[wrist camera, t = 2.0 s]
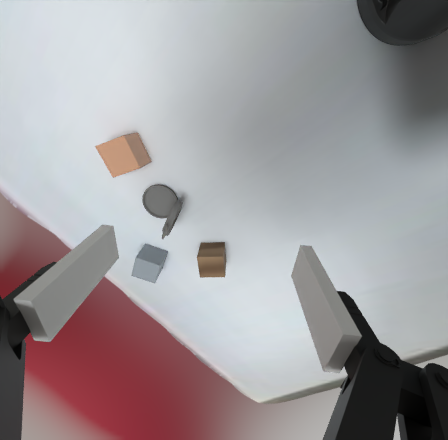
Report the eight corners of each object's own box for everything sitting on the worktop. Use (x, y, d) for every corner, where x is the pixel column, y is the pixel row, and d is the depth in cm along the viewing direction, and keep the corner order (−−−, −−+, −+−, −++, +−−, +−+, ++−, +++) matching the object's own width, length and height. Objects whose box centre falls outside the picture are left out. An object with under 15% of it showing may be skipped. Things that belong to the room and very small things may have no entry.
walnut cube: (201, 242, 45) (197, 257, 40) (224, 242, 44) (223, 256, 40) (203, 261, 47) (200, 277, 42) (226, 261, 46) (224, 277, 42)
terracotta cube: (112, 142, 36) (95, 146, 32) (138, 132, 35) (123, 135, 31) (127, 170, 38) (112, 177, 34) (151, 161, 37) (140, 168, 33)
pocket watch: (139, 186, 40) (111, 207, 31) (183, 180, 39) (167, 201, 30) (152, 224, 43) (130, 253, 34) (192, 220, 42) (180, 249, 33)
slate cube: (145, 243, 45) (135, 257, 41) (168, 251, 46) (160, 265, 42) (141, 260, 48) (131, 275, 43) (162, 267, 48) (154, 283, 44)
